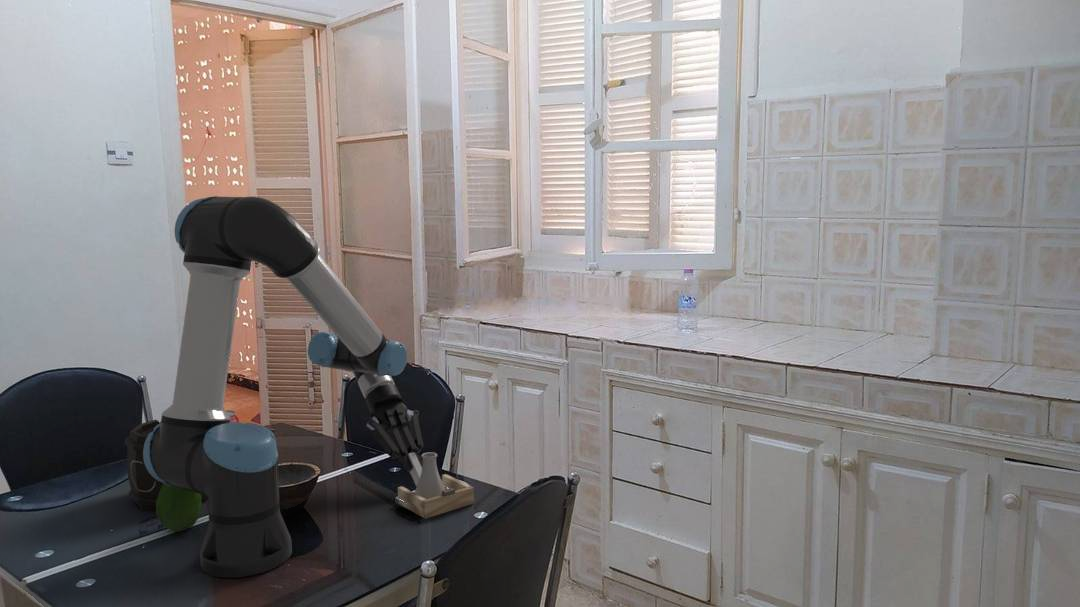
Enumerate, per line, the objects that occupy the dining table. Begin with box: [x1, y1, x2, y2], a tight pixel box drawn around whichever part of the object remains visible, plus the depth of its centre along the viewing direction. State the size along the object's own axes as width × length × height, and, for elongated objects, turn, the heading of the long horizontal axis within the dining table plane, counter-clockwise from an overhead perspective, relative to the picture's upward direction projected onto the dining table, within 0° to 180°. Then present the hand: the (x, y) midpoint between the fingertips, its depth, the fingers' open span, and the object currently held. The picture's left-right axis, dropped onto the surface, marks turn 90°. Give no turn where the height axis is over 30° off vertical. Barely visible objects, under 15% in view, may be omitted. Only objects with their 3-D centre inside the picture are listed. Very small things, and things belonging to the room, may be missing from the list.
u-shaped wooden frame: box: [397, 473, 475, 520], centre depth 158 cm, size 11×12×4 cm
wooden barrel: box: [124, 419, 208, 512], centre depth 162 cm, size 18×18×16 cm
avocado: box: [155, 483, 202, 533], centre depth 145 cm, size 8×8×12 cm
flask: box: [414, 451, 445, 499], centre depth 160 cm, size 7×7×10 cm
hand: (421, 481), depth 163 cm, fingers closed
